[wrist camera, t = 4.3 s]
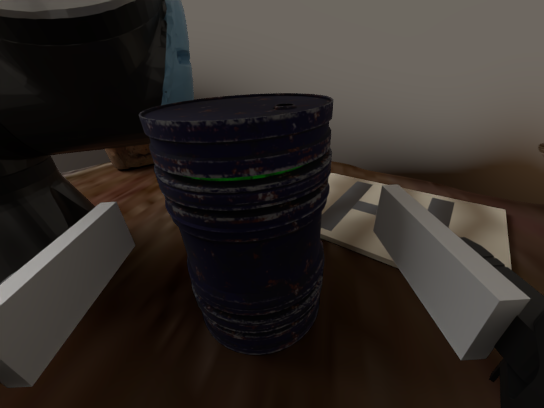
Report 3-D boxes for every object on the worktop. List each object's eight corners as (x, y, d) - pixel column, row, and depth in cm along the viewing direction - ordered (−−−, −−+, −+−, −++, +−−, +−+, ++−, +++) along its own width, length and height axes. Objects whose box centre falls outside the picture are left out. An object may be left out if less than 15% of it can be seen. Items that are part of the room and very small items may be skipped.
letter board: (273, 219, 29) (273, 215, 29) (331, 176, 40) (331, 172, 40) (511, 312, 17) (515, 307, 17) (503, 214, 28) (505, 209, 27)
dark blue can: (175, 308, 19) (97, 114, 12) (253, 242, 26) (235, 93, 18) (276, 392, 14) (250, 132, 6) (340, 281, 20) (365, 93, 13)
